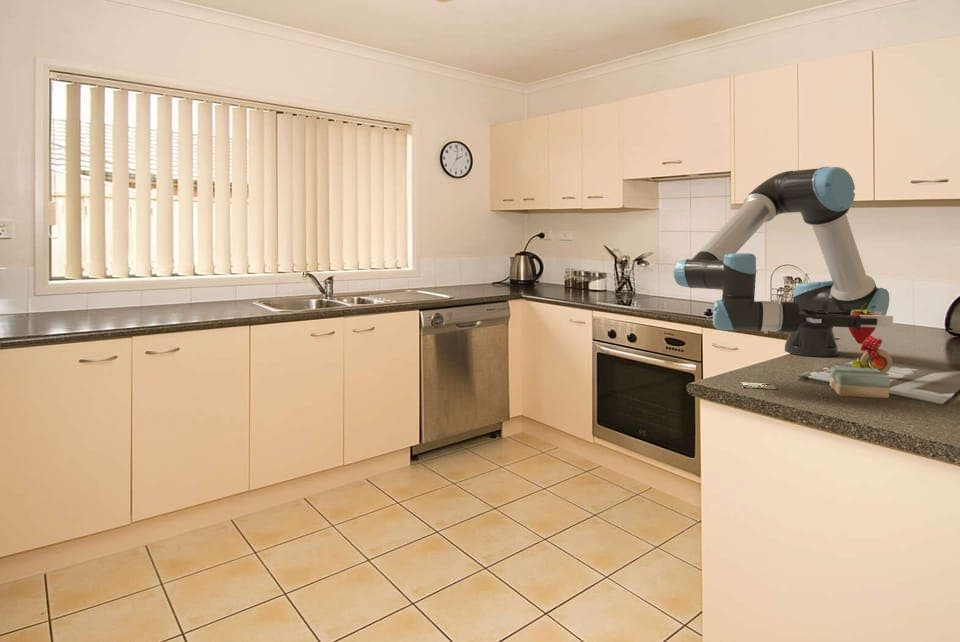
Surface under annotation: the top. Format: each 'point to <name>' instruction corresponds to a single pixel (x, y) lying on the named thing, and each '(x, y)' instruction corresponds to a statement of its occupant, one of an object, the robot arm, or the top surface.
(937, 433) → the top surface
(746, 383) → the page
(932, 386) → the top surface
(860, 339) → the strawberry
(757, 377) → the top surface
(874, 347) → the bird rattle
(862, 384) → the base brick
